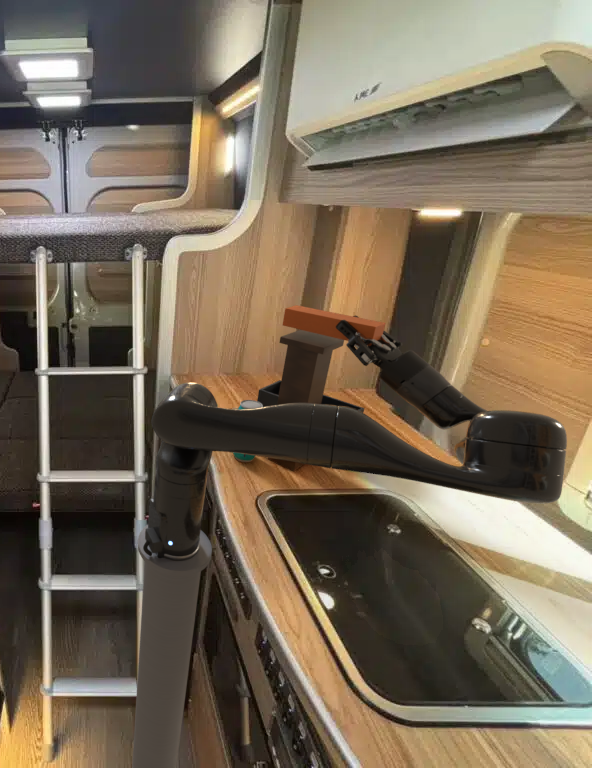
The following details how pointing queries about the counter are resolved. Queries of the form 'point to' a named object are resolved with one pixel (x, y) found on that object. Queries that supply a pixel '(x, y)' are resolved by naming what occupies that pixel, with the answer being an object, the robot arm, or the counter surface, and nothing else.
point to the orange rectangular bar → (329, 323)
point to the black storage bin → (271, 394)
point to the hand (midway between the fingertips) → (345, 321)
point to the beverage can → (243, 405)
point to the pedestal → (305, 372)
